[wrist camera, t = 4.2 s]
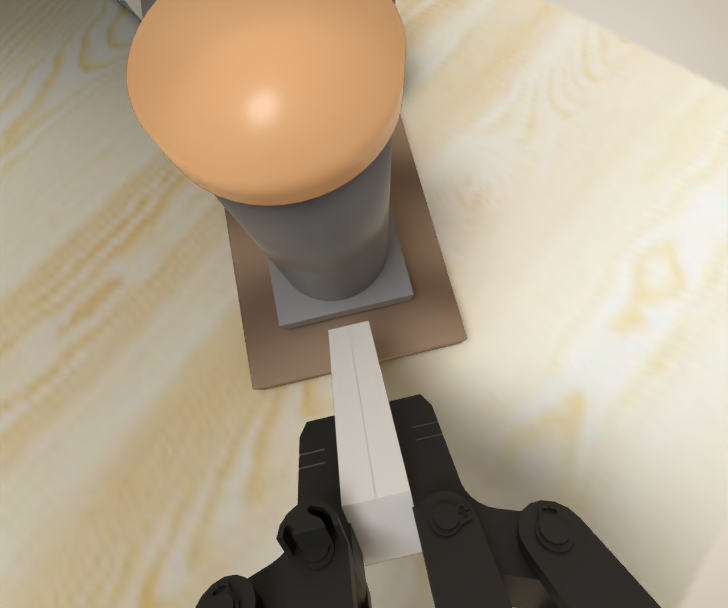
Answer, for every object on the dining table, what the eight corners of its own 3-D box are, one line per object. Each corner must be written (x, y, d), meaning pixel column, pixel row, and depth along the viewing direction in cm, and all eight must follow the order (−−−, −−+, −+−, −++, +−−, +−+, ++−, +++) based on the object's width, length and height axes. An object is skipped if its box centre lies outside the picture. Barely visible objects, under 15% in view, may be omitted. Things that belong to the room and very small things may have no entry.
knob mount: (460, 343, 18) (511, 311, 11) (263, 389, 18) (184, 389, 11) (375, 55, 23) (372, -105, 15) (215, 92, 22) (134, -51, 15)
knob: (412, 299, 17) (461, 148, 6) (285, 329, 17) (123, 228, 6) (381, 186, 19) (380, -93, 8) (264, 213, 19) (101, -29, 8)
